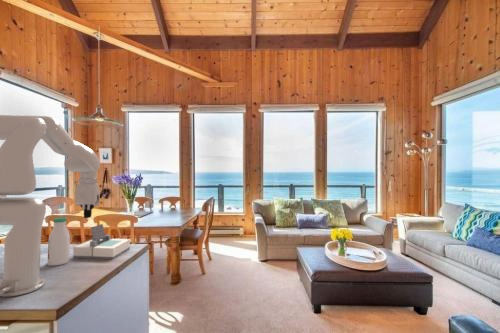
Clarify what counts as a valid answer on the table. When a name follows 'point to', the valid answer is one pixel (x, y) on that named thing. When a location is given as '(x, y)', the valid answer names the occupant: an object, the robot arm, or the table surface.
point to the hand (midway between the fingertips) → (87, 217)
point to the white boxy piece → (102, 248)
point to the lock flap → (98, 233)
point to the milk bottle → (59, 243)
